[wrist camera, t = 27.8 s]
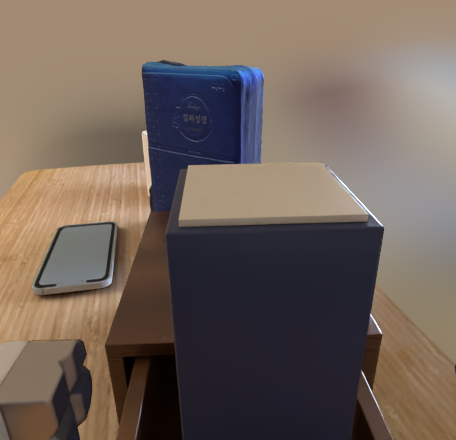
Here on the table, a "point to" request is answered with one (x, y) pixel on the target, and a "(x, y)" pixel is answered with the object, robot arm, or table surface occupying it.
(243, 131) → the book
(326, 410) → the box
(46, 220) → the table surface
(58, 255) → the smartphone
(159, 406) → the drawer
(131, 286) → the cabinet
